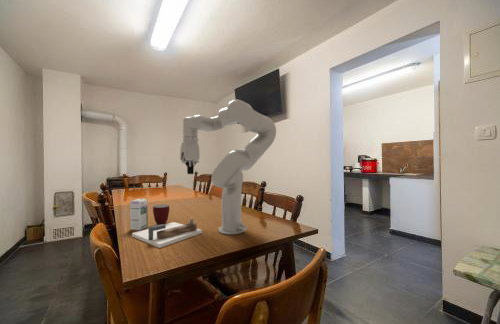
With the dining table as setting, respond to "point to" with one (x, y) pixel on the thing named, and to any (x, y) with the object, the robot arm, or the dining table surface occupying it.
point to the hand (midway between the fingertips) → (190, 173)
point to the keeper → (153, 228)
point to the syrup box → (138, 214)
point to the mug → (161, 213)
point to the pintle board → (168, 240)
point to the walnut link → (177, 230)
